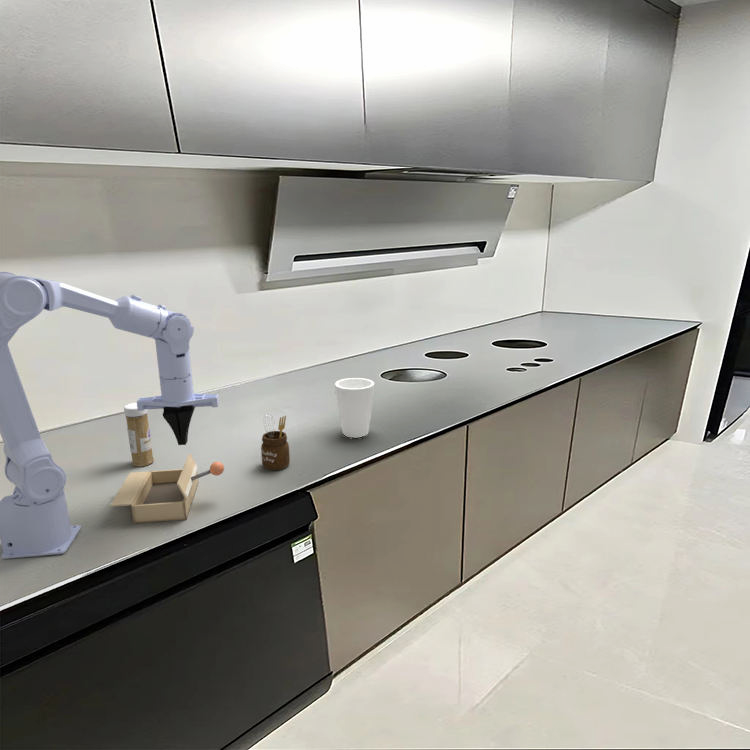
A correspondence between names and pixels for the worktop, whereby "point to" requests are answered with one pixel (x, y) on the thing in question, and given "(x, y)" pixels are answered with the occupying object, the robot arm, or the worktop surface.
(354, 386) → the foam cup
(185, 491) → the flap
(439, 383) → the worktop surface
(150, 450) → the sprinkles bottle
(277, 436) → the utensil holder
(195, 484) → the carton
